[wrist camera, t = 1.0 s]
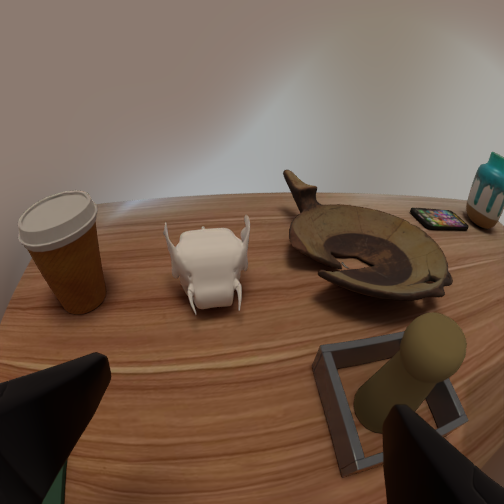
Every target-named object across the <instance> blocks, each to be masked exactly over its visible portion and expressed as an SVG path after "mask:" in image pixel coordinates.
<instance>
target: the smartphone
mask: <svg viewBox="0 0 504 504" xmlns="http://www.w3.org/2000/svg"><path fill="white" fill-rule="evenodd" d="M410 212H411V214H412V215H413V216H414V217H415V218H417V219H418V220H419V221H420V222H421V223H422V224H423V225H424V226H425V227H426V228H428V229H451V230H467V229H468V227H469V226H468V225H467V224H466V223H465V222H464V221H463V220H462V219H461V218H459V217H458V216H457V215H456V214H455V213H453V212H452V211H449V210H438V209H425V208H411V211H410Z"/></svg>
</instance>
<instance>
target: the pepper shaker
mask: <svg viewBox="0 0 504 504" xmlns="http://www.w3.org/2000/svg"><path fill="white" fill-rule="evenodd" d="M466 346H467V343H466V338H465V335H464V333H463V331H462V329H461V328H460V327H459V326H458V325H457V323H456V322H454V321H453V320H452V319H451V318H449V317H447V316H445V315H443V314H440V313H435V312H433V313H426V314H424V315H421V316H419V317H417V318H416V319H415V320H414V321H412V323H411V324H410V325H409V326H408V327H407V329H406V330H405V332H404V334H403V337H402V340H401V344H400V350H399V351H398V352H397V353H396V354H395V355H394V356H393V357H392V358H391V359H390V360H389V361H388V362H387V363H386V364H385V365H384V366H383V367H382V368H381V369H380V370H379V371H378V372H376V373H375V374H374V375H373V376H372V377H371V378H370V379H369V380H368V381H366V382H365V383H364V384H363V385H362V386H361V387H360V388H359V389H358V391H357V393H356V395H355V399H354V409H355V414H356V416H357V418H358V419H359V421H360V422H361V423H362V424H363V425H364V426H365V427H366V428H367V429H369V430H371V431H373V432H376V433H383V432H382V427H383V422H384V420H385V419H386V417H387V415H388V413H389V412H390V410H391V408H392V407H393V406H394V405H396V404H406V405H408V406H409V407H410V408H411V409H412V410H413V411H414V412H415V411H416V409H417V408H418V407H419V406H420V405H421V403H422V402H423V401H424V400H425V398H426V397H427V396H428V394H429V393H430V392H431V390H432V389H433V388H434V386H435V385H436V384H437V383H438V382H442V381H444V380H446V379H448V378H449V377H451V376H452V375H453V374H454V373H455V372H456V371H457V370H458V369H459V368H460V366H461V364H462V362H463V360H464V358H465V355H466Z"/></svg>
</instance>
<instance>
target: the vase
mask: <svg viewBox="0 0 504 504" xmlns="http://www.w3.org/2000/svg"><path fill="white" fill-rule="evenodd" d="M503 209H504V157H502V156H500V155H499V154H497V153H494V152H492V153H491V155H490V158H489V161H488V163H486V164H482V165H480V167H479V168H478V170H477V173H476V175H475V178H474V181H473V184H472V187H471V190H470V193H469V197H468V201H467V206H466V211H467V215H468V217H469V218H470V220H471V221H472V222H474V223H475V224H476V225H478V226H480V227H482V228H485V229H489V228H492V227H494V226H495V225H496V223H497V222H498V220H499V218H500V216H501V214H502V212H503Z"/></svg>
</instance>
